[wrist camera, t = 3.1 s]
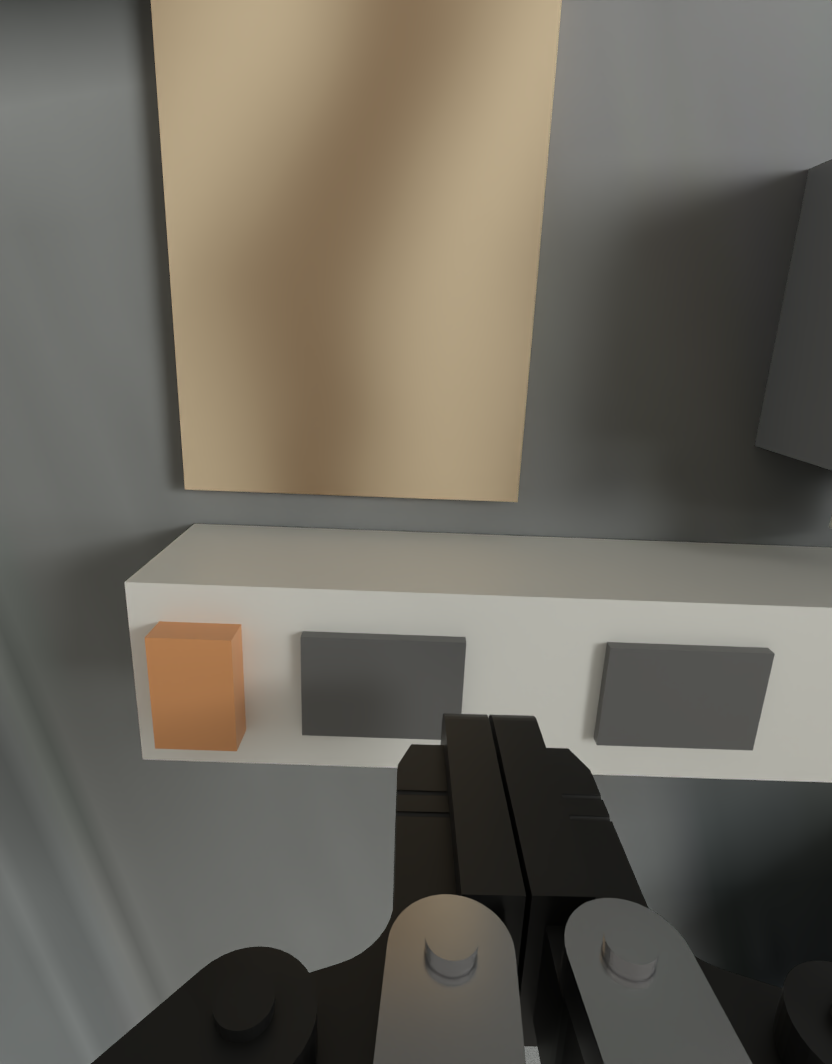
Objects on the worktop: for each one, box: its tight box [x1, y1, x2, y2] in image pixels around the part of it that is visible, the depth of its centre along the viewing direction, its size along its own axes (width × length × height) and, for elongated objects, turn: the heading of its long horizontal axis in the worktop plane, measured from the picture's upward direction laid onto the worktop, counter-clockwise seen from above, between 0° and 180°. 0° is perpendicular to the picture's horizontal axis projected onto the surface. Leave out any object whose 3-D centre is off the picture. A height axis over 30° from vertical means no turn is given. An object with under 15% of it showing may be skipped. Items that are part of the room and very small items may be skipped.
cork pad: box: [151, 0, 562, 502], centre depth 14 cm, size 8×12×1 cm, turn 178°
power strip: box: [124, 524, 832, 782], centre depth 14 cm, size 28×4×5 cm, turn 88°
